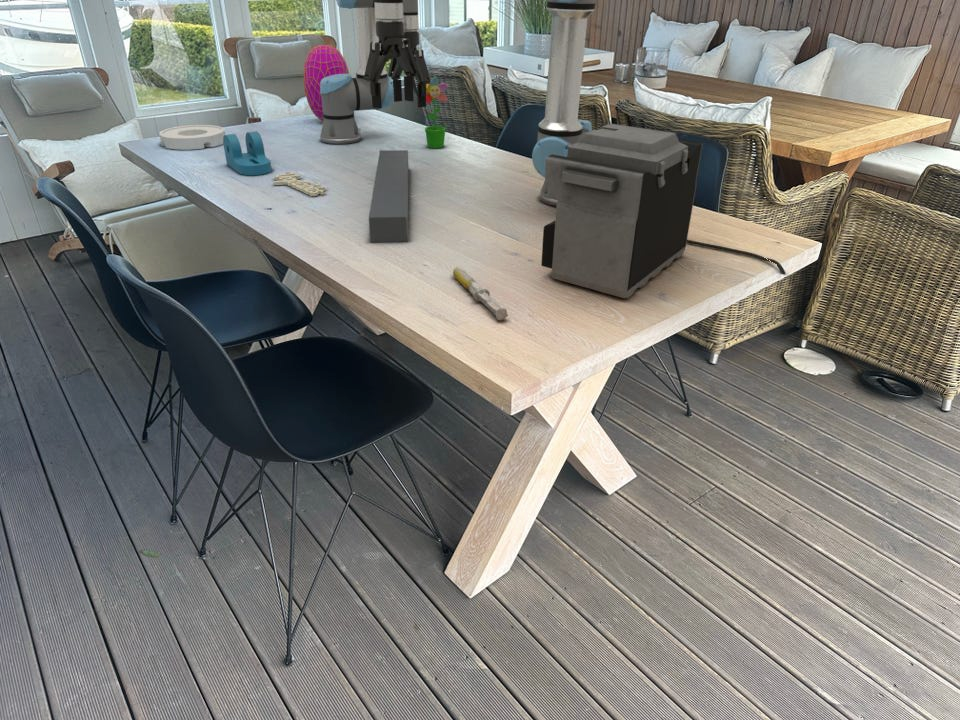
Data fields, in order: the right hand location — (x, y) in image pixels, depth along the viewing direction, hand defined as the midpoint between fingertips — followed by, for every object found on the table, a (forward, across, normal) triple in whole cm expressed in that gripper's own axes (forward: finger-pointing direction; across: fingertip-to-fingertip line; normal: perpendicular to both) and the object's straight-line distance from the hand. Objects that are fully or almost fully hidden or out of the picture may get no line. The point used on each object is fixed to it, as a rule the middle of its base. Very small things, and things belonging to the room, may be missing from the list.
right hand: (393, 104), depth 193 cm
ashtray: (+26, -3, -104) cm, 107 cm away
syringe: (+26, +45, +61) cm, 80 cm away
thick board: (+26, +6, +3) cm, 27 cm away
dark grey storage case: (+26, +12, +77) cm, 82 cm away
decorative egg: (+26, -61, -91) cm, 113 cm away
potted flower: (+26, -54, -28) cm, 66 cm away
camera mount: (+26, +8, -58) cm, 64 cm away
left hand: (+5, -24, -14) cm, 28 cm away
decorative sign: (+26, +12, -30) cm, 42 cm away
